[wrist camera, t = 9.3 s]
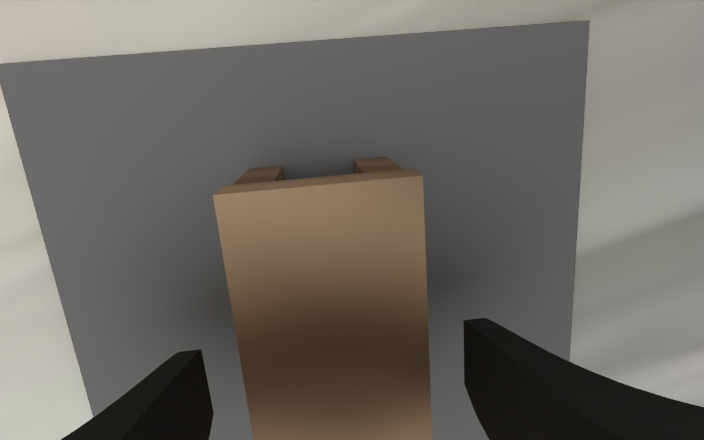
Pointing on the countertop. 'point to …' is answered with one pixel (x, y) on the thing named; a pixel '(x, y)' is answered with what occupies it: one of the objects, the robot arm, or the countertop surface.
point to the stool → (330, 301)
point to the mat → (302, 162)
